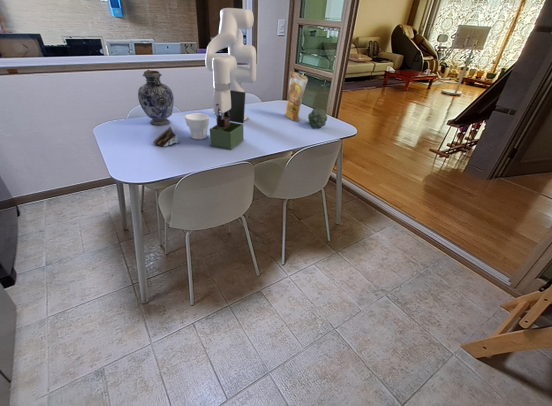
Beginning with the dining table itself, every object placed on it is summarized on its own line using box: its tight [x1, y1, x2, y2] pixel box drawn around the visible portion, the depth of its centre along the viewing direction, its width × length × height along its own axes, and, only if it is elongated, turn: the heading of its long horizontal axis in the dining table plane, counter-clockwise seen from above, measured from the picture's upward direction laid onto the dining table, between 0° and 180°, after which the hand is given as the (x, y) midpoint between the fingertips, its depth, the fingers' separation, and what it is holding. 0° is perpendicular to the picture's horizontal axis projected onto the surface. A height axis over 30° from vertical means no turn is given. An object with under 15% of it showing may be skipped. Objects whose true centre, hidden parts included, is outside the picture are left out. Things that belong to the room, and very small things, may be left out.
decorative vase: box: [137, 69, 175, 126], centre depth 163 cm, size 21×19×28 cm
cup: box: [184, 112, 210, 140], centre depth 153 cm, size 12×12×11 cm
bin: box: [209, 121, 244, 151], centre depth 149 cm, size 15×12×9 cm
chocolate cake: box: [152, 126, 180, 148], centre depth 145 cm, size 10×7×12 cm
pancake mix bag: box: [285, 70, 309, 122], centre depth 186 cm, size 7×19×28 cm, turn 26°
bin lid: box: [229, 90, 246, 124], centre depth 149 cm, size 15×12×1 cm
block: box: [216, 116, 231, 129], centre depth 142 cm, size 5×5×5 cm
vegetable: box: [307, 107, 328, 129], centre depth 180 cm, size 12×13×15 cm
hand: (223, 124), depth 143 cm, fingers closed on block, 4 cm apart
